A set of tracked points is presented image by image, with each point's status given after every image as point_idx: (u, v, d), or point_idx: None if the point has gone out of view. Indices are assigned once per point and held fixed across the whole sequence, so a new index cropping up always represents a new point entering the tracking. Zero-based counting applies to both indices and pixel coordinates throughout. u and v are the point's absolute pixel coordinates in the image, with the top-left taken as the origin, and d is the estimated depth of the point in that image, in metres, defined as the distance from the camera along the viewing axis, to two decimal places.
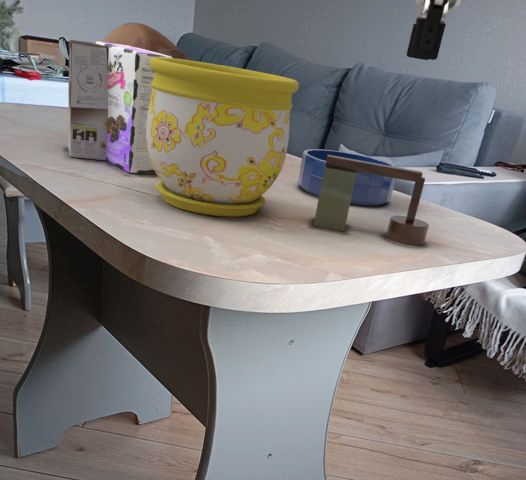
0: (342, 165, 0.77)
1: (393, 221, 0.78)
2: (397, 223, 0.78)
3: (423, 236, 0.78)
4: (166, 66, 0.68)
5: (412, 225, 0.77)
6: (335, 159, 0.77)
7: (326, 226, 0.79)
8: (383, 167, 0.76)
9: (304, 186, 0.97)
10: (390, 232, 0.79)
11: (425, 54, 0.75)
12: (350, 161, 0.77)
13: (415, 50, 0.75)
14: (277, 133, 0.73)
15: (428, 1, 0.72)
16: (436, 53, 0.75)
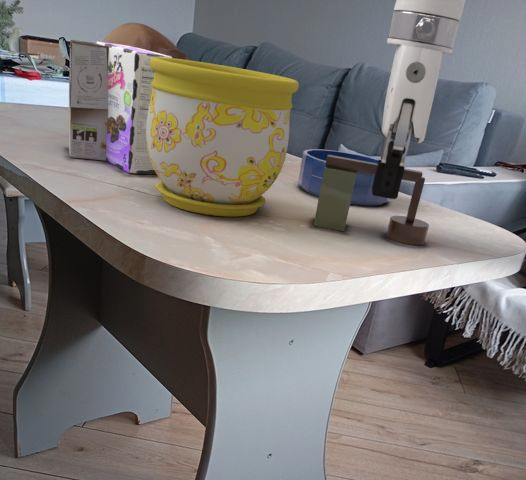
0: (342, 165, 0.77)
1: (393, 221, 0.78)
2: (397, 223, 0.78)
3: (423, 236, 0.78)
4: (166, 66, 0.68)
5: (412, 225, 0.77)
6: (335, 159, 0.77)
7: (326, 226, 0.79)
8: None
9: (304, 186, 0.97)
10: (390, 232, 0.79)
11: (385, 194, 0.77)
12: (350, 161, 0.77)
13: (376, 190, 0.77)
14: (277, 133, 0.73)
15: (387, 149, 0.74)
16: (396, 193, 0.77)
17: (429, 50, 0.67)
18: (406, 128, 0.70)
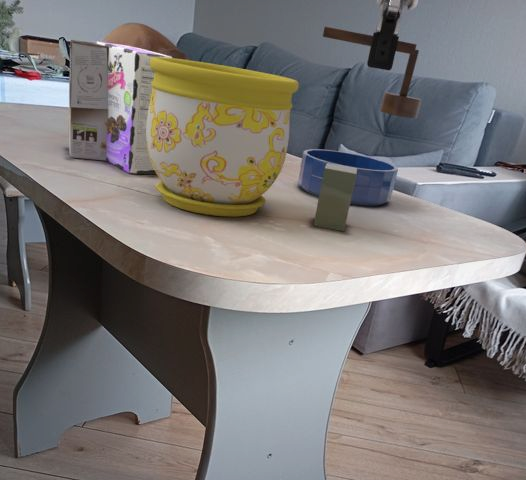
0: (338, 36, 0.79)
1: (387, 94, 0.81)
2: (391, 95, 0.80)
3: (415, 109, 0.81)
4: (166, 66, 0.68)
5: (405, 97, 0.80)
6: (333, 30, 0.79)
7: (326, 226, 0.79)
8: None
9: (304, 186, 0.97)
10: (384, 105, 0.81)
11: (380, 65, 0.79)
12: (347, 31, 0.79)
13: (371, 61, 0.79)
14: (277, 133, 0.73)
15: (382, 16, 0.76)
16: (391, 64, 0.79)
17: None
18: None
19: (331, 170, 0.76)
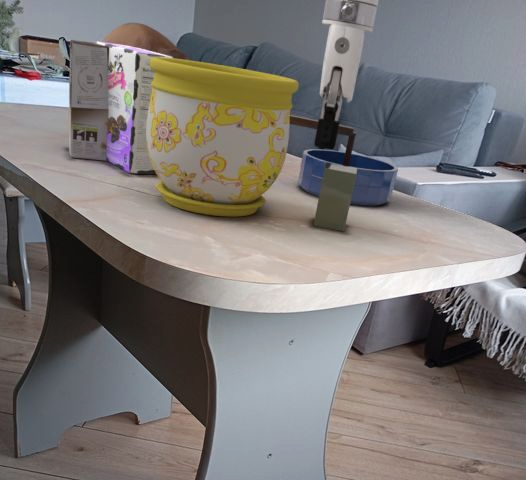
0: (290, 121, 0.97)
1: None
2: None
3: None
4: (166, 66, 0.68)
5: None
6: None
7: (326, 226, 0.79)
8: None
9: (304, 186, 0.97)
10: None
11: (325, 145, 0.97)
12: (297, 118, 0.96)
13: (317, 142, 0.97)
14: (277, 133, 0.73)
15: (324, 108, 0.93)
16: (333, 144, 0.96)
17: (351, 28, 0.87)
18: (336, 90, 0.90)
19: (331, 170, 0.76)
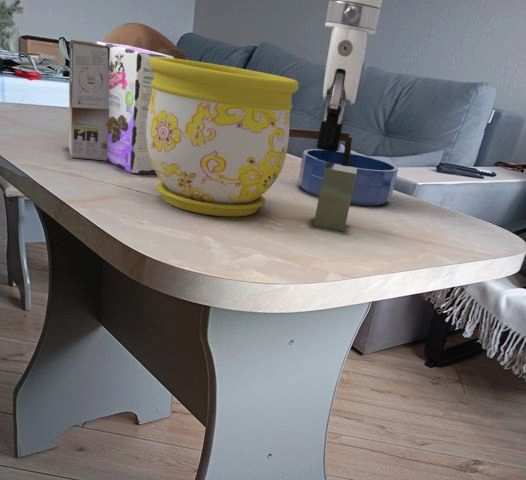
0: None
1: None
2: None
3: None
4: (166, 66, 0.68)
5: None
6: None
7: (326, 226, 0.79)
8: (318, 131, 0.97)
9: (304, 186, 0.97)
10: None
11: (327, 147, 0.96)
12: (292, 129, 0.97)
13: (320, 144, 0.96)
14: (277, 133, 0.73)
15: (327, 110, 0.93)
16: (336, 147, 0.96)
17: (354, 31, 0.87)
18: (339, 91, 0.89)
19: (331, 170, 0.76)
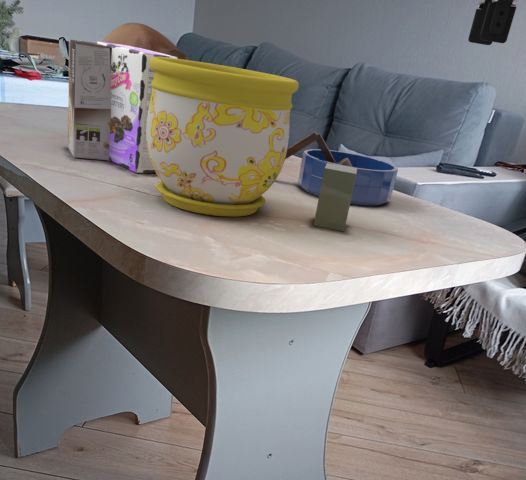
0: None
1: None
2: None
3: None
4: (166, 66, 0.68)
5: None
6: None
7: (326, 226, 0.79)
8: (288, 149, 0.98)
9: (304, 186, 0.97)
10: None
11: (494, 37, 0.75)
12: None
13: (484, 33, 0.75)
14: (277, 133, 0.73)
15: None
16: (505, 36, 0.75)
17: None
18: None
19: (331, 170, 0.76)
